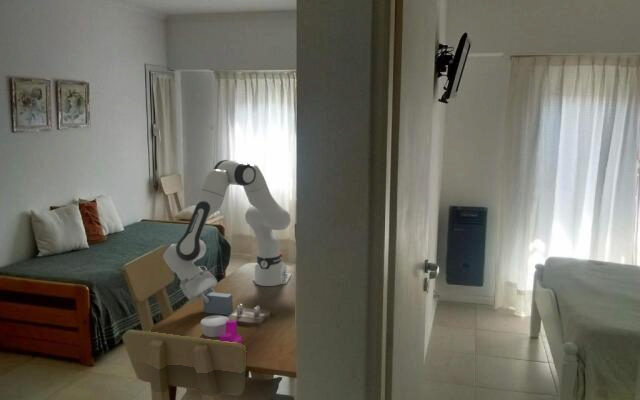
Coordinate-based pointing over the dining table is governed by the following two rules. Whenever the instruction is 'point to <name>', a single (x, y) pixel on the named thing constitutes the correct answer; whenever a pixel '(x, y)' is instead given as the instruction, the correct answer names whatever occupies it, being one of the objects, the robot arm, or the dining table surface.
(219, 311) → the slate block
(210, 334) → the ramekin
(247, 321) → the peg stand
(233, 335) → the toy block
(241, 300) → the dining table surface
